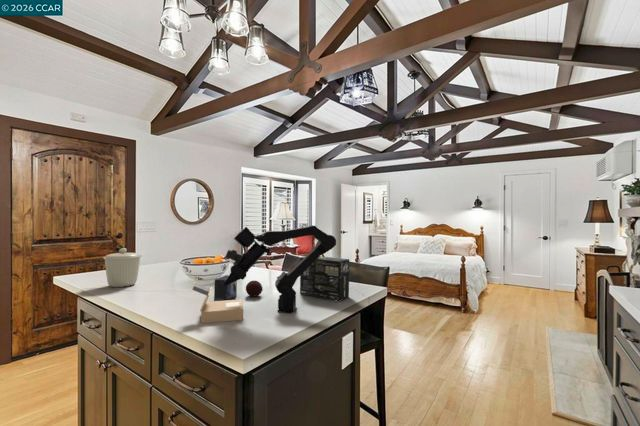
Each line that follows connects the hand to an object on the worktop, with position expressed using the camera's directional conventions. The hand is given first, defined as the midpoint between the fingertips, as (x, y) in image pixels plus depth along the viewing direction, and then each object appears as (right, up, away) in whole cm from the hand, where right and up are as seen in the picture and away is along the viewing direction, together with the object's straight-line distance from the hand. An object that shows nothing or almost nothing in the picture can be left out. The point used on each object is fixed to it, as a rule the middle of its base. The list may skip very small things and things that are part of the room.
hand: (224, 285), depth 119 cm
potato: (+6, -13, +29) cm, 32 cm away
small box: (-6, -12, +23) cm, 27 cm away
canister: (-74, -13, +51) cm, 90 cm away
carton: (0, -12, -1) cm, 12 cm away
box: (+40, -13, +30) cm, 51 cm away
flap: (-6, -5, -2) cm, 8 cm away
